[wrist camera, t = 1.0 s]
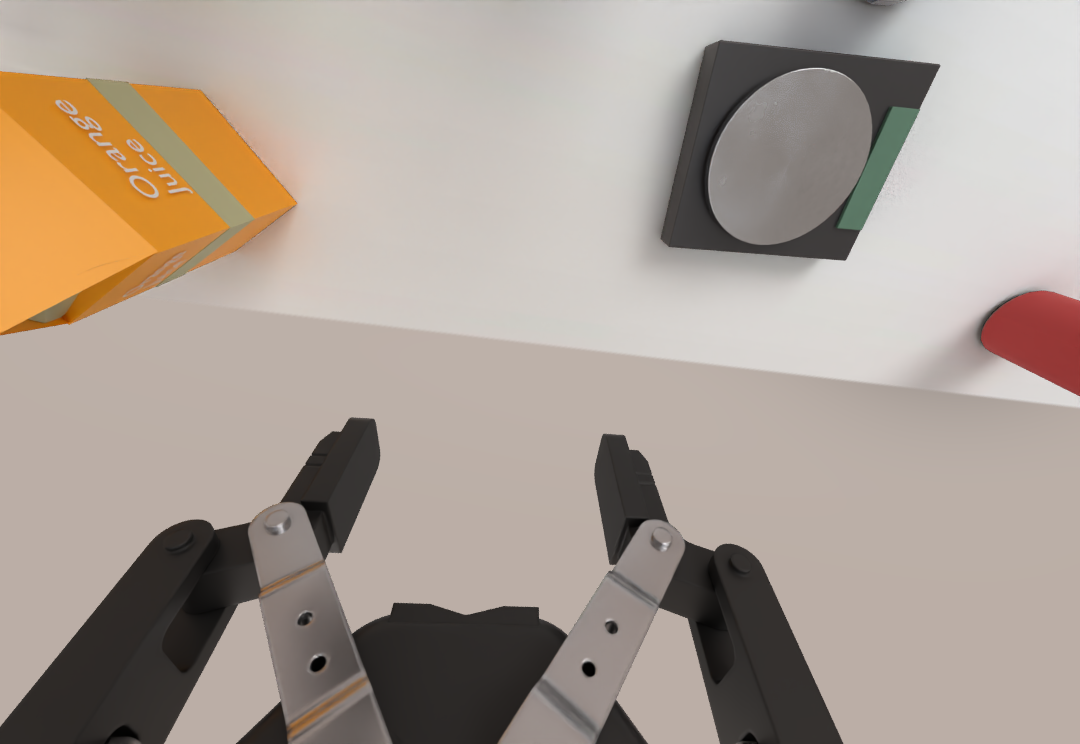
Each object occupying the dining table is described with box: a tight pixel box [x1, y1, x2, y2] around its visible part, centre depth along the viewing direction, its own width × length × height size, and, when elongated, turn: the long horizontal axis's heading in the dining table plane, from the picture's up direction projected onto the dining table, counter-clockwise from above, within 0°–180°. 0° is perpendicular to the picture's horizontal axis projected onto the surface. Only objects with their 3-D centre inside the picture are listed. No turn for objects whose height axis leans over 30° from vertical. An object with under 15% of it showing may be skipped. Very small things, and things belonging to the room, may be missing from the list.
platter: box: [705, 68, 872, 245], centre depth 28 cm, size 11×11×1 cm
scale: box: [661, 40, 940, 260], centre depth 30 cm, size 13×15×3 cm
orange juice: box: [0, 71, 297, 335], centre depth 23 cm, size 8×9×20 cm
